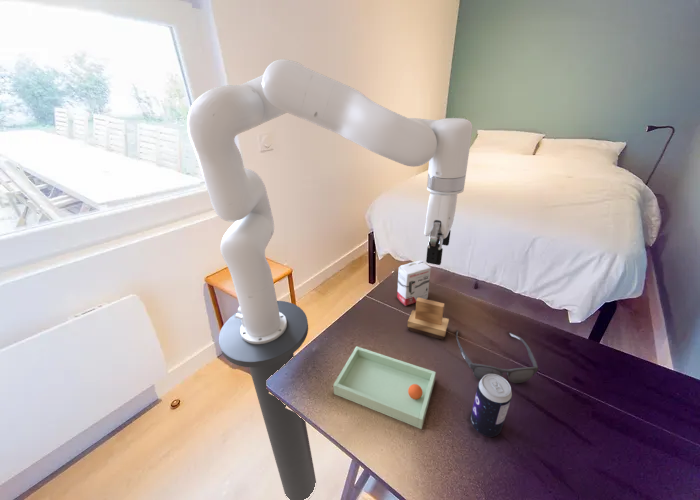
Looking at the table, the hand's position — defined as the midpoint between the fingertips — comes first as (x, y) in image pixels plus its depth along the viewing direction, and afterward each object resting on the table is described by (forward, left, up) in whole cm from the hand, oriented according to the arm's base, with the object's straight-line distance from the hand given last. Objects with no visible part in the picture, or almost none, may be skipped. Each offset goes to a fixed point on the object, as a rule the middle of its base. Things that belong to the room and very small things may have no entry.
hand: (437, 253), depth 74 cm
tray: (-5, -22, -24) cm, 33 cm away
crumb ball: (+2, -22, -22) cm, 31 cm away
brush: (-1, 0, -24) cm, 24 cm away
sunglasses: (+16, -3, -24) cm, 29 cm away
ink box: (-8, +12, -24) cm, 28 cm away
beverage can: (+16, -22, -24) cm, 37 cm away
